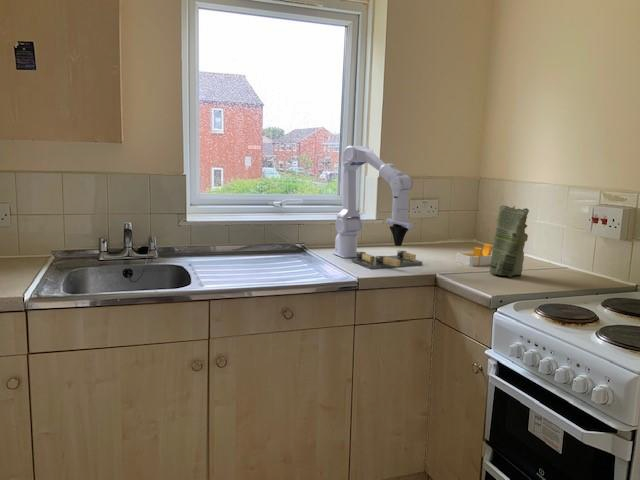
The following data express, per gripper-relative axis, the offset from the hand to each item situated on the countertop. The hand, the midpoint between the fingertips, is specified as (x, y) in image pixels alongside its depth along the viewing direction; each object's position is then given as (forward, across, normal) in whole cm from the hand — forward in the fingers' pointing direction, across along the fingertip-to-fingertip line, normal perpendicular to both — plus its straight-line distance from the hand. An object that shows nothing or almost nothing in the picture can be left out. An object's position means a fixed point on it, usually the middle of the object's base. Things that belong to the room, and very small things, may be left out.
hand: (398, 245), depth 209 cm
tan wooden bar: (+7, -10, -8) cm, 15 cm away
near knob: (+7, -1, -3) cm, 8 cm away
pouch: (+8, +23, +32) cm, 40 cm away
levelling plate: (+8, -8, +1) cm, 12 cm away
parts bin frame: (+8, +2, +38) cm, 38 cm away
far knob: (+7, -8, +9) cm, 14 cm away
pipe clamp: (+8, +2, +38) cm, 38 cm away
